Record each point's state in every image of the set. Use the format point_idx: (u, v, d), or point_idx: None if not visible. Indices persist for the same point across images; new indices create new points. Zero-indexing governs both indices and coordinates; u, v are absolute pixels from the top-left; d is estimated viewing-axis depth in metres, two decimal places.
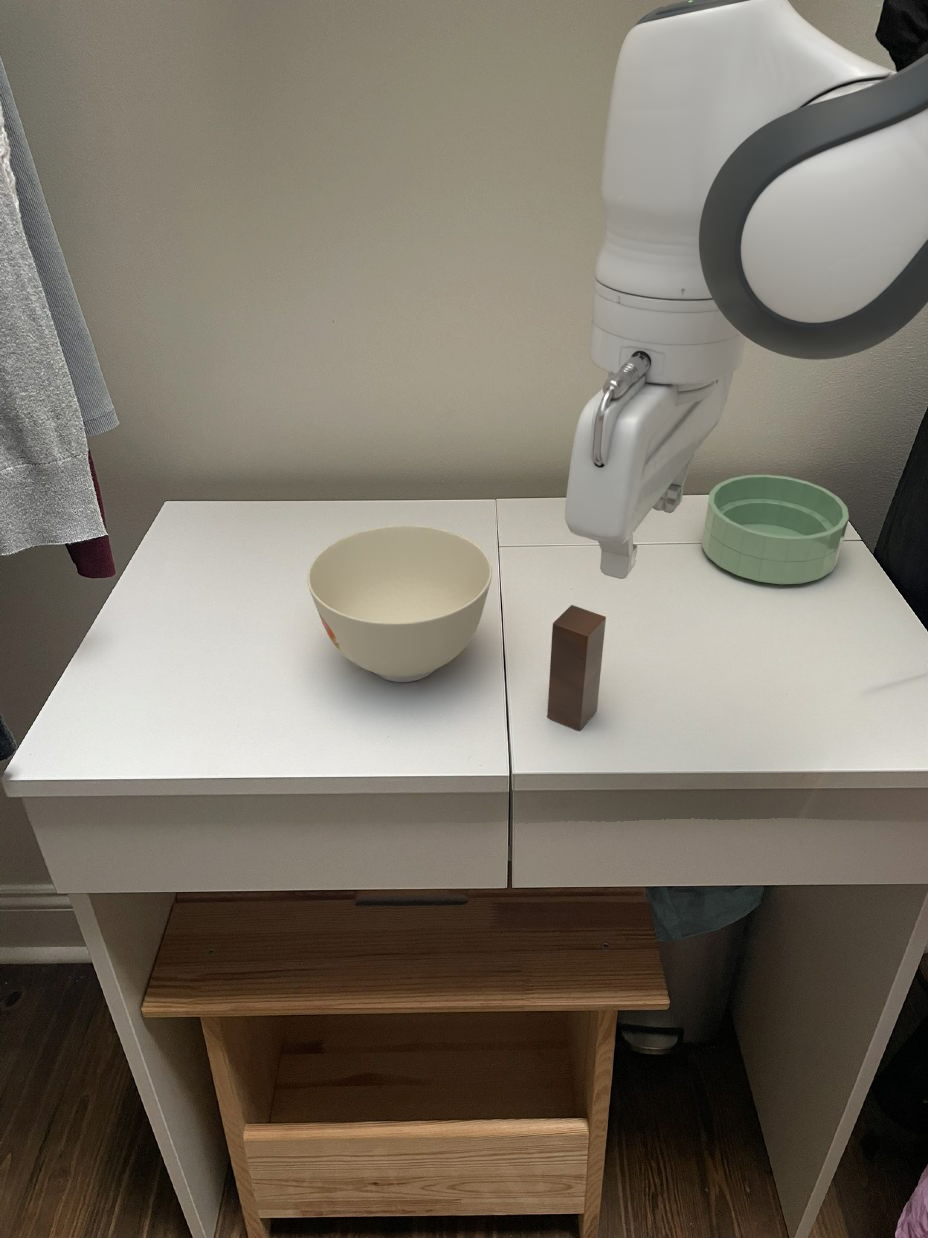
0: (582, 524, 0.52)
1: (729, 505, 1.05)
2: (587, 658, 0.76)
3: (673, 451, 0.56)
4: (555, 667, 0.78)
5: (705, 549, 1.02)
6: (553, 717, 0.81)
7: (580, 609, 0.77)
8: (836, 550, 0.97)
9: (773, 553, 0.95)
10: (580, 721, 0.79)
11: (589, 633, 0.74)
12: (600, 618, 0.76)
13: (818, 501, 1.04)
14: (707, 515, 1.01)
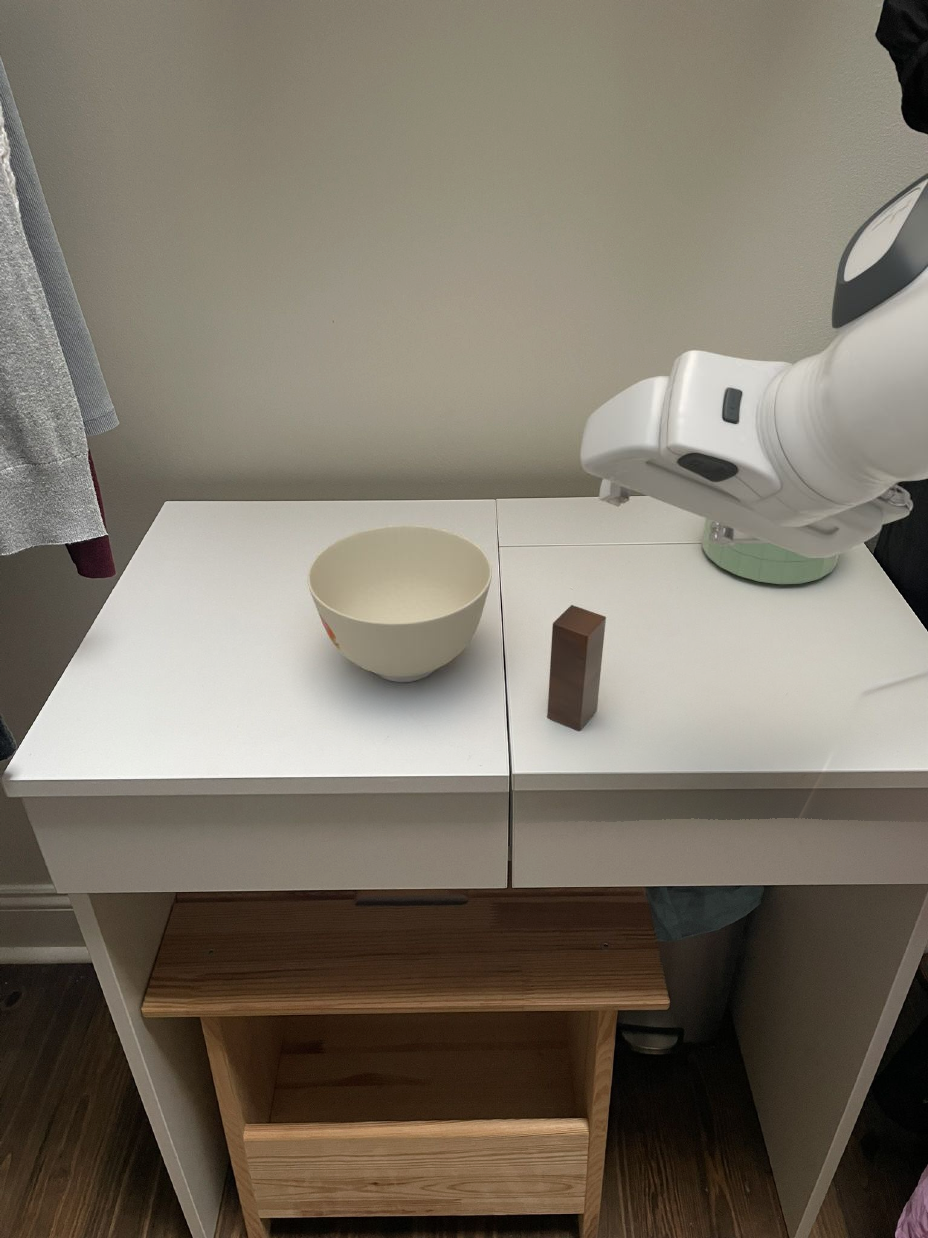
0: None
1: None
2: (587, 658, 0.76)
3: None
4: (555, 667, 0.78)
5: (705, 549, 1.02)
6: (553, 717, 0.81)
7: (580, 609, 0.77)
8: None
9: (773, 553, 0.95)
10: (580, 721, 0.79)
11: (589, 633, 0.74)
12: (600, 618, 0.76)
13: None
14: None
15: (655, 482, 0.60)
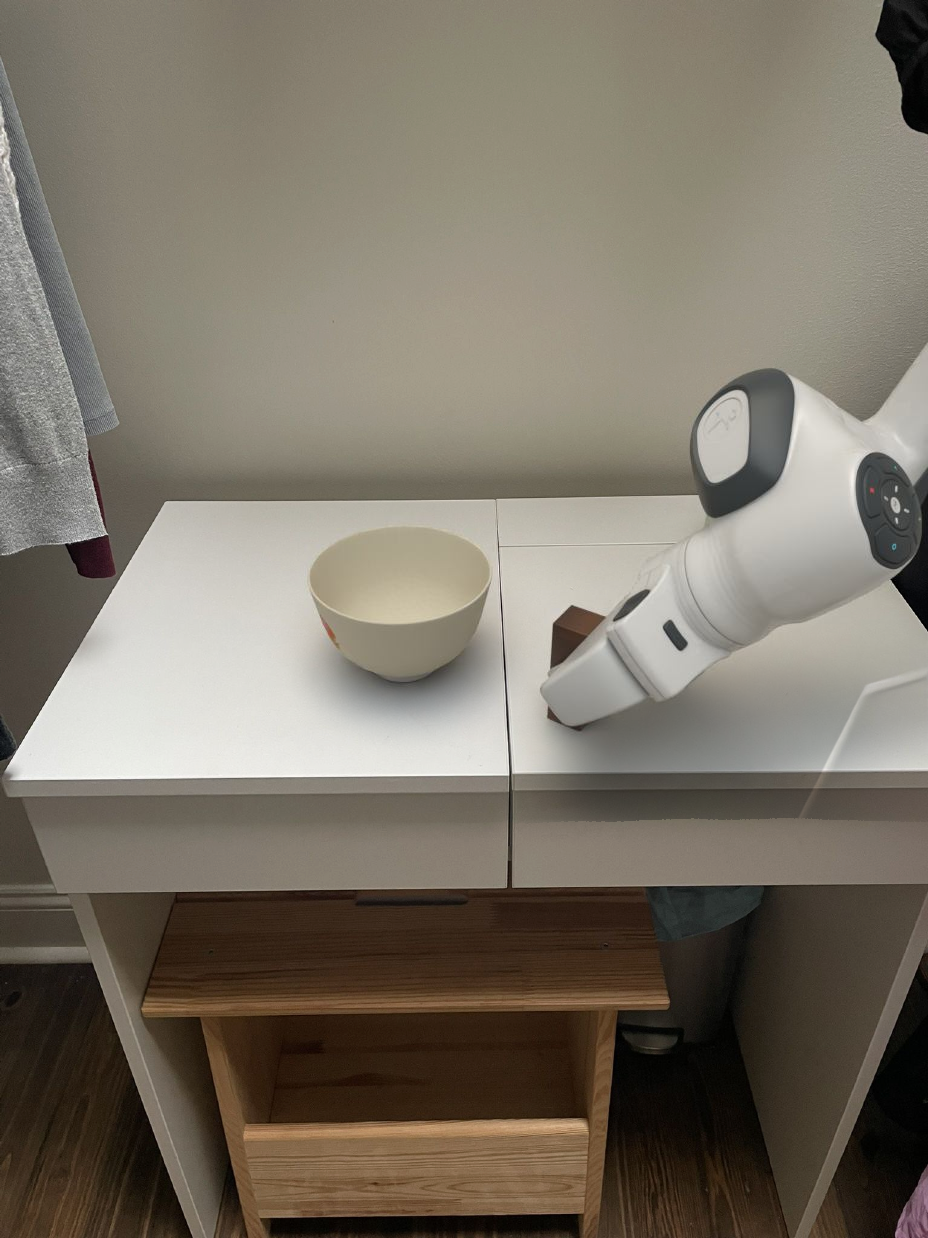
0: None
1: None
2: None
3: None
4: None
5: None
6: (553, 717, 0.81)
7: (580, 609, 0.77)
8: None
9: None
10: None
11: (589, 633, 0.74)
12: (600, 618, 0.76)
13: None
14: (707, 515, 1.01)
15: None
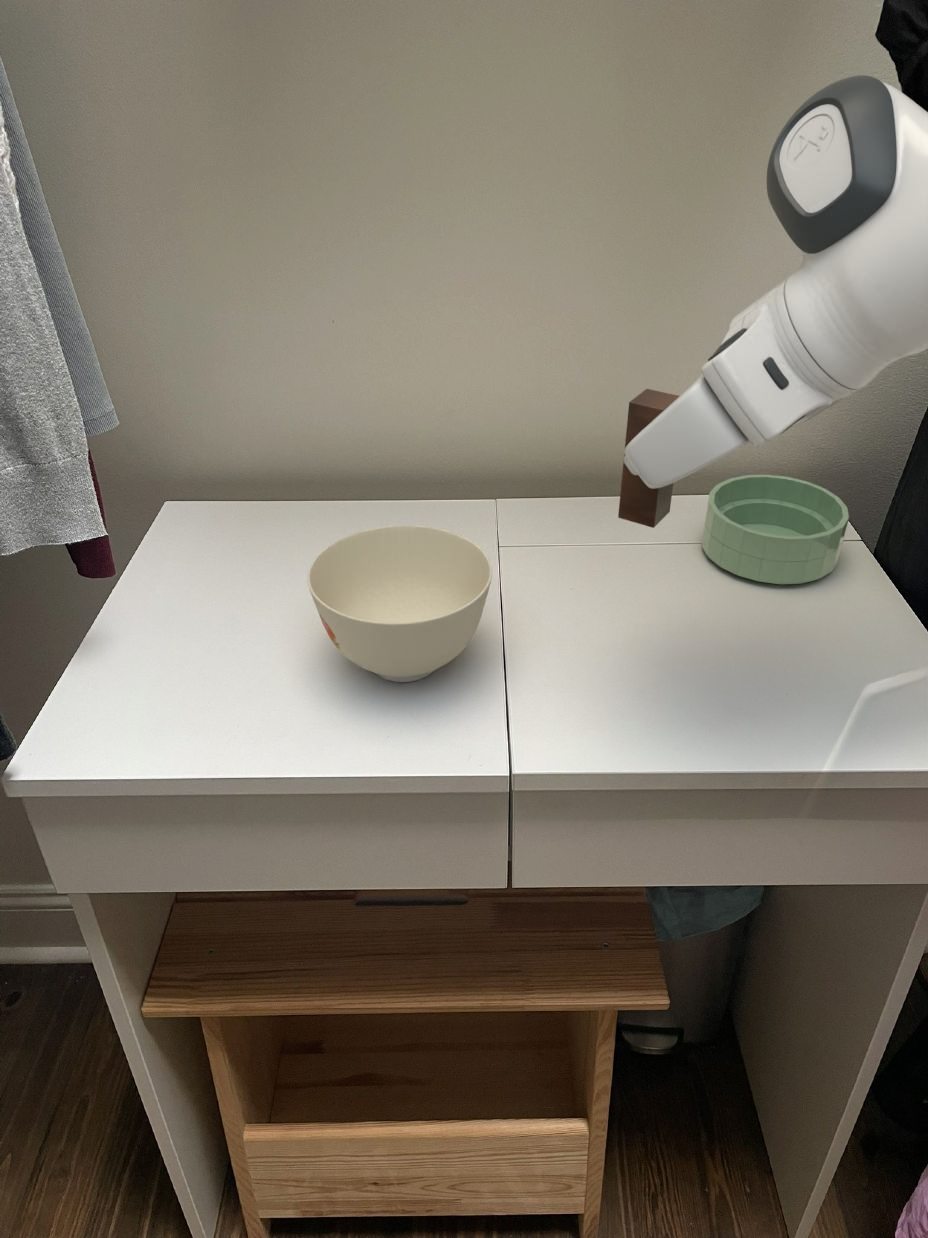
0: None
1: (729, 505, 1.05)
2: None
3: None
4: None
5: (705, 549, 1.02)
6: (625, 515, 0.77)
7: (656, 391, 0.73)
8: (836, 550, 0.97)
9: (773, 553, 0.95)
10: (655, 516, 0.75)
11: None
12: None
13: (818, 501, 1.04)
14: (707, 515, 1.01)
15: None
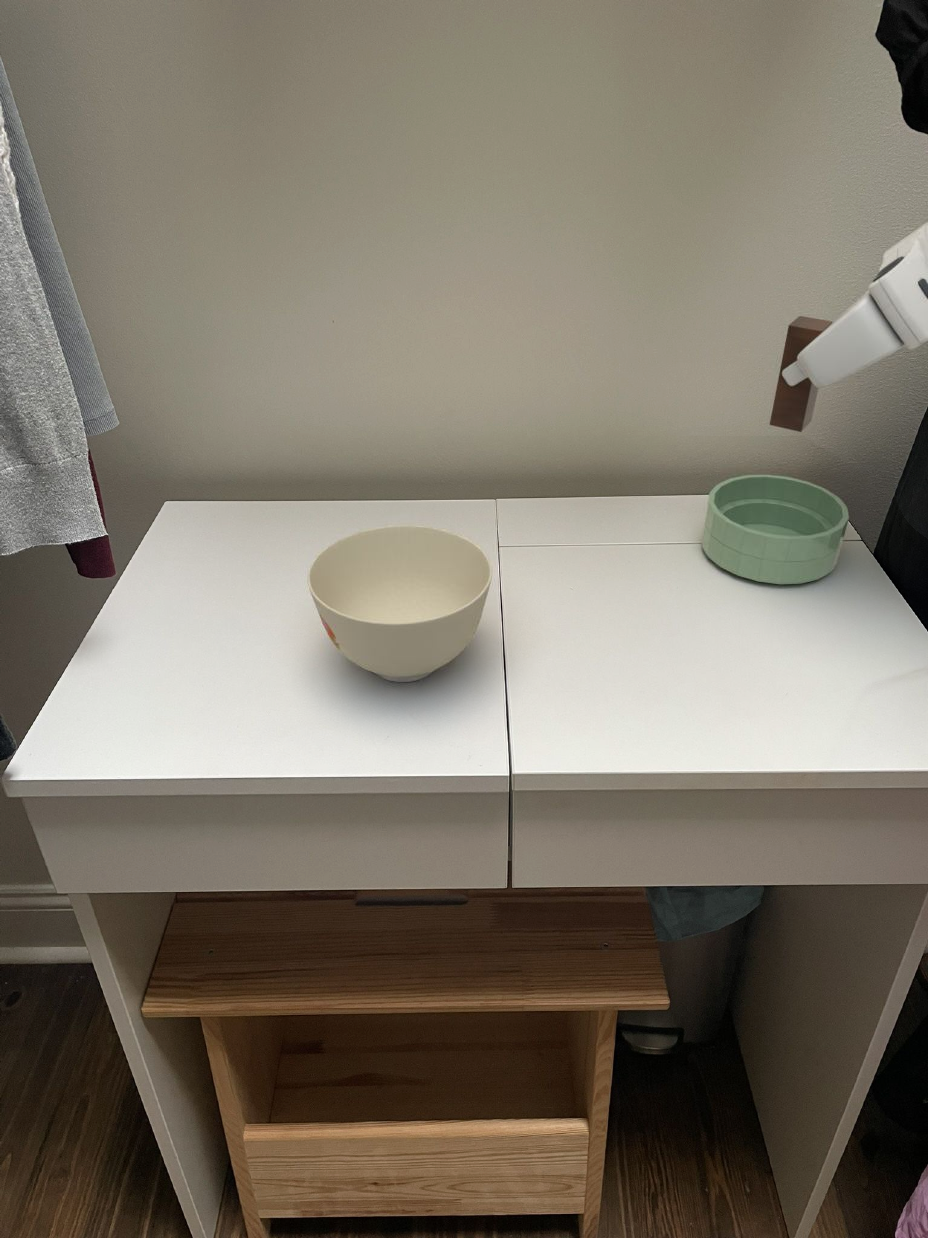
0: None
1: (729, 505, 1.05)
2: None
3: None
4: None
5: (705, 549, 1.02)
6: (776, 422, 0.93)
7: (808, 317, 0.89)
8: (836, 550, 0.97)
9: (773, 553, 0.95)
10: (803, 421, 0.92)
11: (823, 329, 0.87)
12: (828, 321, 0.88)
13: (818, 501, 1.04)
14: (707, 515, 1.01)
15: None
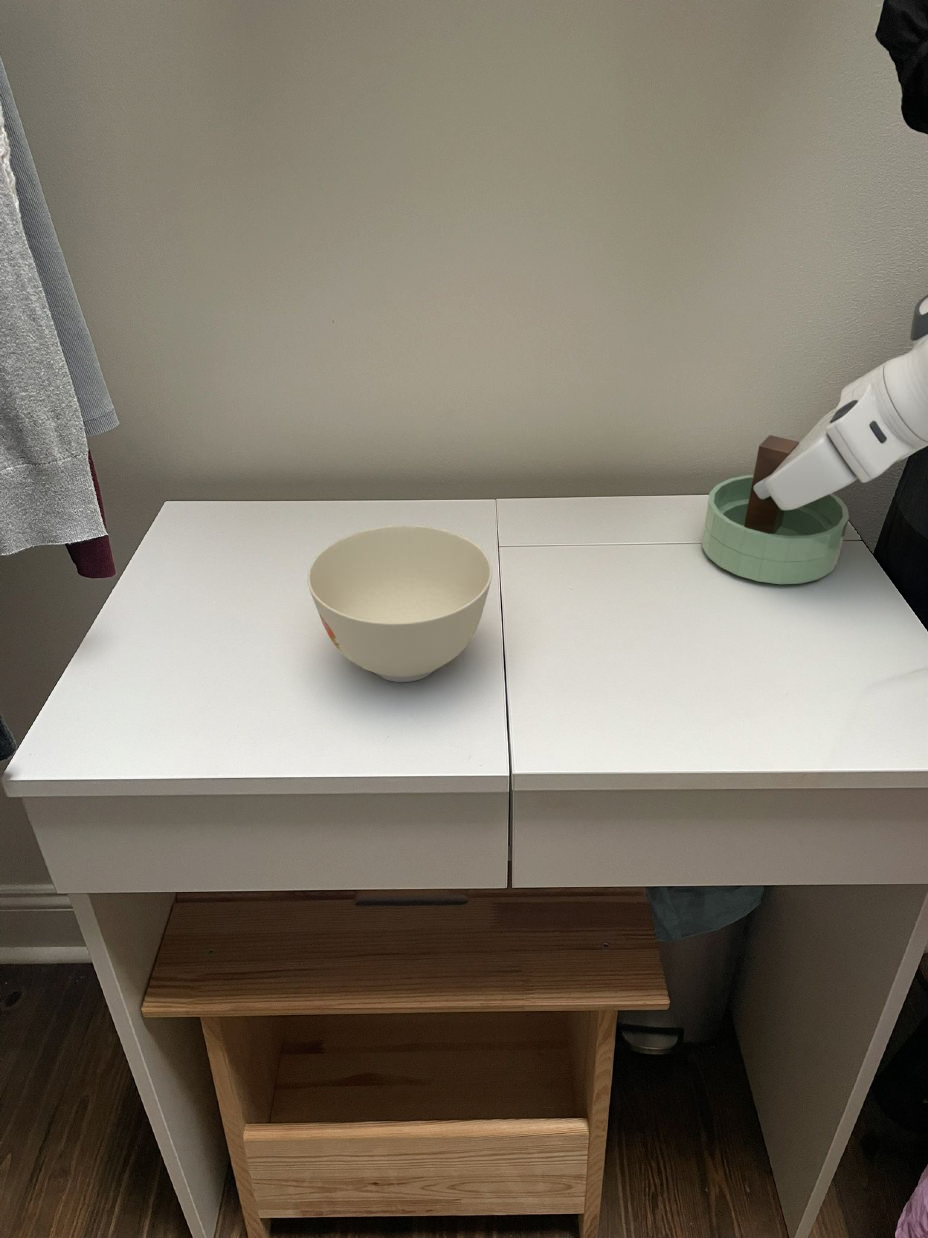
0: None
1: (729, 505, 1.05)
2: None
3: (821, 428, 0.97)
4: None
5: (705, 549, 1.02)
6: (749, 528, 1.03)
7: (777, 437, 0.99)
8: (836, 550, 0.97)
9: (773, 553, 0.95)
10: (773, 528, 1.01)
11: (790, 451, 0.96)
12: (795, 442, 0.98)
13: (818, 501, 1.04)
14: (707, 515, 1.01)
15: None
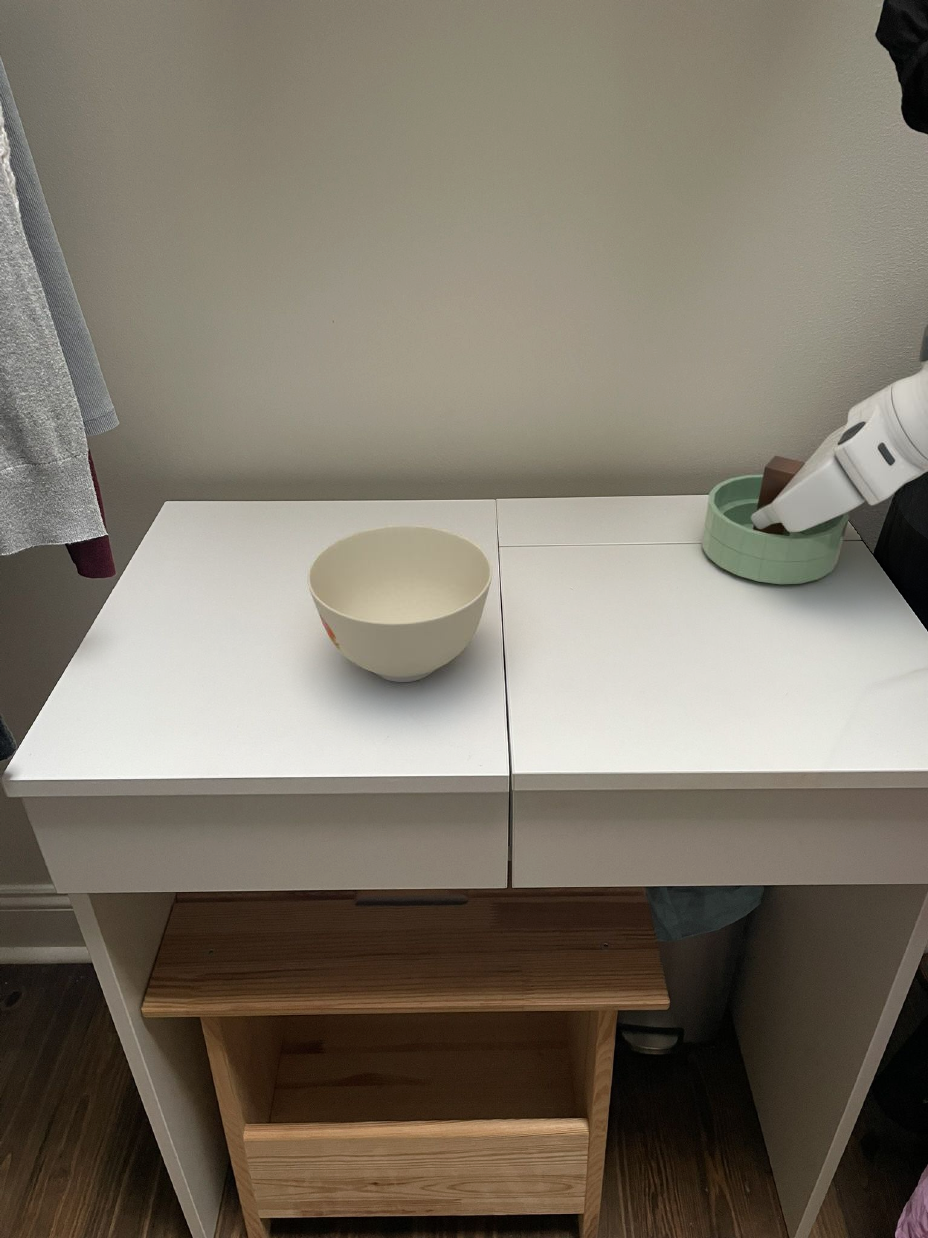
0: None
1: (729, 505, 1.05)
2: None
3: (827, 448, 0.96)
4: (762, 504, 0.99)
5: (705, 549, 1.02)
6: None
7: (783, 458, 0.98)
8: (836, 550, 0.97)
9: (773, 553, 0.95)
10: None
11: (796, 472, 0.96)
12: (800, 463, 0.97)
13: None
14: (707, 515, 1.01)
15: None
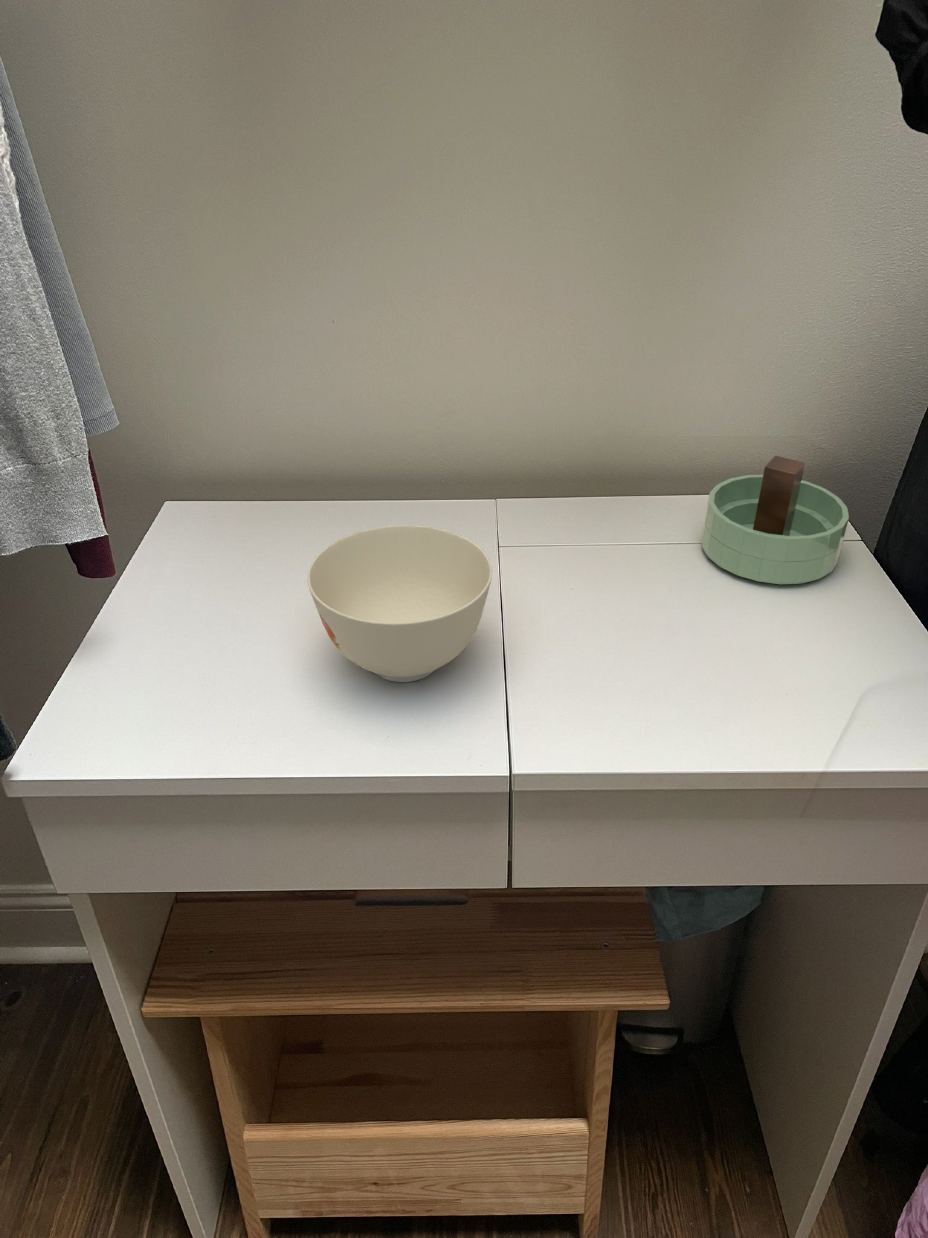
0: None
1: (729, 505, 1.05)
2: (792, 494, 0.97)
3: None
4: (762, 504, 0.99)
5: (705, 549, 1.02)
6: None
7: (783, 458, 0.98)
8: (836, 550, 0.97)
9: (773, 553, 0.95)
10: None
11: (796, 472, 0.96)
12: (800, 463, 0.97)
13: (818, 501, 1.04)
14: (707, 515, 1.01)
15: None
